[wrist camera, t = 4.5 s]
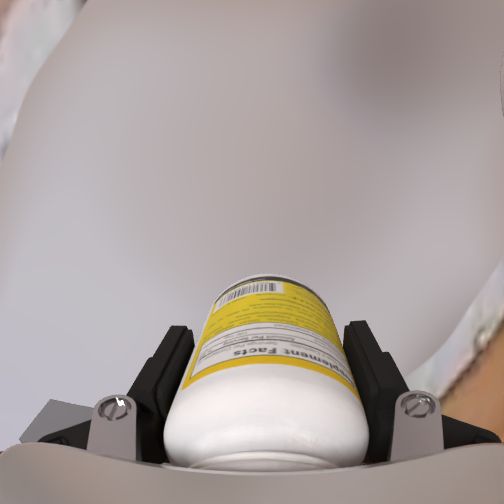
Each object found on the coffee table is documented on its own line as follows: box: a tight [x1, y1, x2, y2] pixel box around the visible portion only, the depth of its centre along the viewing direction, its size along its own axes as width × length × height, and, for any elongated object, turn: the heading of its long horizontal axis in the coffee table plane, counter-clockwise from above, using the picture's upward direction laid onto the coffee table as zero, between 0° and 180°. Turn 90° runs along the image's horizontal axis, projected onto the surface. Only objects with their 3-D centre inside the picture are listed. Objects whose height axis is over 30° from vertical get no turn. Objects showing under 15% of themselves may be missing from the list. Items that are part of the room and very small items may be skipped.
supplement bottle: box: [164, 274, 369, 472], centre depth 9 cm, size 5×5×10 cm
